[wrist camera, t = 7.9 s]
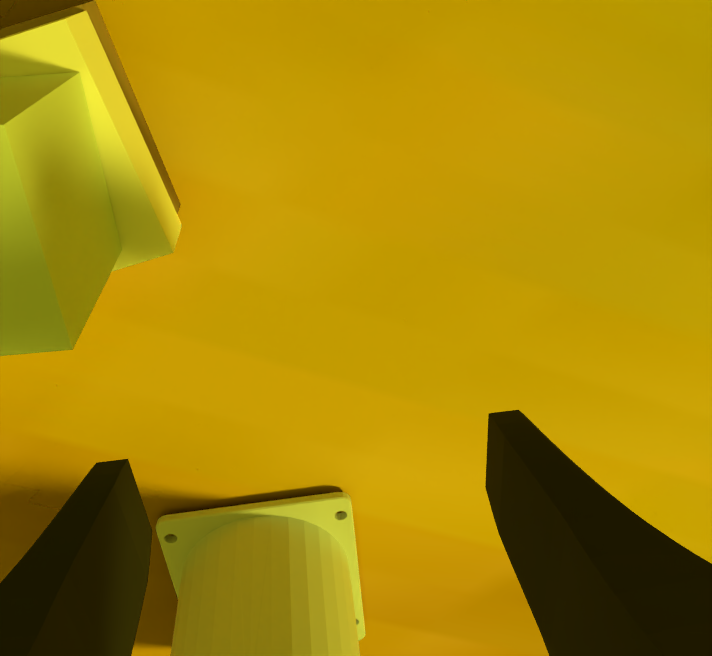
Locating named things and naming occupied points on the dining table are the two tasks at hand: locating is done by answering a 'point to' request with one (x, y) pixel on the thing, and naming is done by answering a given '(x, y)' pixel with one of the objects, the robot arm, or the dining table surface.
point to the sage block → (50, 214)
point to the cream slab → (103, 131)
